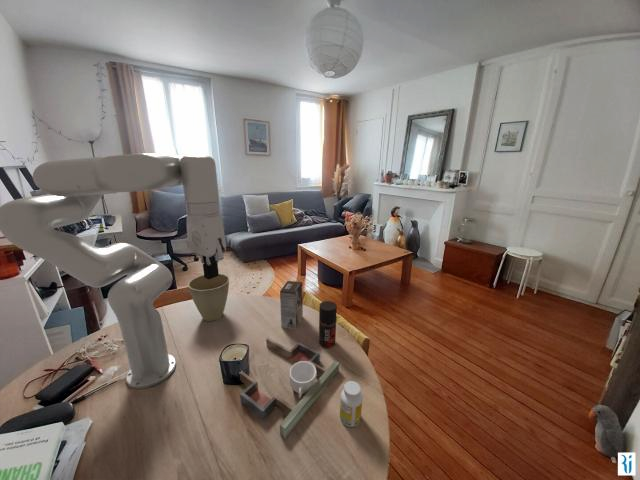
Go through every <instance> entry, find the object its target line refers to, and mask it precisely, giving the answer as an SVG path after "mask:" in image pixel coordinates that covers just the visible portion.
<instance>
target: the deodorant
mask: <svg viewBox="0 0 640 480" xmlns="http://www.w3.org/2000/svg"><path fill="white" fill-rule="evenodd" d="M318 307H319V310H318V314H319V315H318V316H319V317H318V345H319V346H320V347H321V348H323V349H331V348H333V347H335V345H336V337H337V336H336V335H337V334H336V333H337V310H338V305H337V304H336V302H335V301H331V300H324V301H322V302H320V303H319V306H318Z"/></svg>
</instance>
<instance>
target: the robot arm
mask: <svg viewBox="0 0 640 480" xmlns="http://www.w3.org/2000/svg"><path fill="white" fill-rule="evenodd" d="M215 161H216V160H215V159H214V158H213V157H212V156H209V155H194V154H193V155H191V154H190V155H189V154H188V155H179V154H170V153H155V152H151V153H149V152H146V153H145V152H143V153H131V154H129V153H128V154H118V155H107V156H106V155H103V156H94V157H91V156H90V157H84V158H83V157H81V158H69V159H66V158H65V159H55V160H50V161H45V162H43V163H41V164H39V165H38V166H36V168H35V169H34V170H33V172H32V180H33V182H34V184H35V186H36V187H38V189H40V190H41V191H42V192H44V193H45V194H43V195H35V196H34V195H33V196H27V197H22V198H17V199H14V200H11V201H8V202H6V203H4V204H2V205H0V232H1V233H2V235H3V236H4V237H5V239H6V240H8V241H9V242H10V243H11V244H12V245H14V246H16V247H17V248H18V249H20V250H22V251H24V252H27V253H28V254H30V255H33V256H35V257H38V258H40V259H41V260H44V261H46V262H47V263H50V264H51V265H53V266H55V267H56V268H58V269H59V270H60V271H61V270H62V271H63V272H64V273H66V274H68V275H69V276H71V277H73V278H74V279H77V280H78V281H80V282H81V283H83V284H85V285H87V286H89V287H91V288H94V289H95V288H97V289H98V288H102V287H105V286H107V285H110V284H112V283H113V282H115V281H117V282H116V283H114V284H113V285H112V286H111V288H110V289H109V291H108V293H107V302H108V305H109V307H110V308H111V310H112V311H113V313H114V315H115V317H116V320H117V322H118V325H119V329H120V333H121V335H122V340H123V345H124V348H125V352H126V355H127V359H128V364H129V368H130V369H129V370H128V372H127V374H126V378H125V380H126V384H127V385H128V387H130V388H133V389H146V388H150V387H152V386H156V385H158V384H159V383H161V382H163V381H165V380H166V379H167V378H168V377H169V376H170V375H172V373H173V372H174V370H175V369H176V365H177V361H176V358H175V357H174V356H173V355H172V354H169V352H168V351H169V350H168V345H167V341H166V336H165V330H164V325H163V320H162V316H161V313H160V312H159V310H158V309H157V308H155V307H154V305H153V303H154V301H155V300H156V299H158V297H160V295H162V294H163V293H165V292H166V291H167V290H168V289H169V288H170V287H171V286H172V284H173V275H172V272H171V270H170V269H169V268H168V267H167V266H165V264H163V263H161V262H160V261H159V260H157V259H156V258H154V257H152V256H151V255H149V254H148V253H146V252H145V251H144V250H142V249H140V248H139V247H137V246H136V245H133V244H130V243H127V242H115V243H112V244H108V245H107V246H104V247H97V246H95V245H93V244H92V243H89V242H88V241H86V240H85V239H84V238H83V237H79V236H78V235H75V234H73V233H69V232H64V231H62V230H58V228H62V227H66V226H69V225H73V224H77V223H80V222H82V221H84V220H86V219H87V218H88V217H89V216H90V215H91V213H92V212H93V210H94V209H95V207H96V206H97V205H98V203H99V201H100V200H101V199H102V197H103V196H104V195H110V194H118V193H130V192H132V193H133V192H147V191H157V190H160V189H166V188H174V187H180V186H182V188H183V189H182V190H183V195H184V201H185V209H186V236H187V247H188V249H189V251H191V252H193V253H195V254H197V255H199V258H200V262H201V264H202V270H203V275H204V277H205V278H207V279H212V278H214V277H217V276H218V275H219V274H220V273H219V265H218V263H219V261H220V262H221V261H222V260H224V259H225V257H224V253H225V252H226V250H227V244H226V243H227V242H226V236H225V235H226V234H225V229H224V224H223V220H222V217H221V205H220V195H219V186H218V185H219V184H218V175H217V165H216V162H215ZM124 276H125V277H124ZM122 277H123V278H122ZM119 279H120V280H119Z"/></svg>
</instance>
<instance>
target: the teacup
mask: <svg viewBox="0 0 640 480" xmlns="http://www.w3.org/2000/svg"><path fill="white" fill-rule="evenodd" d="M288 374H289V375H288V378H289V383H290V384H289V385H290V387H291V388H292V390H293V391H295V392H296V393H298V398H300V399H302V396H303V394H304V395H306V394H307V392H308V391H309V390H310V389H311V388H312V387H313V385H314V384H315V383H316V382H317V376H318V375H317V371H316V368H315V366H314V365H313V364H312V363H310V362H307V361H300V362H297V363H295V362H294V364H293V365H292V366H291V367H290V369H289V373H288Z"/></svg>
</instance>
